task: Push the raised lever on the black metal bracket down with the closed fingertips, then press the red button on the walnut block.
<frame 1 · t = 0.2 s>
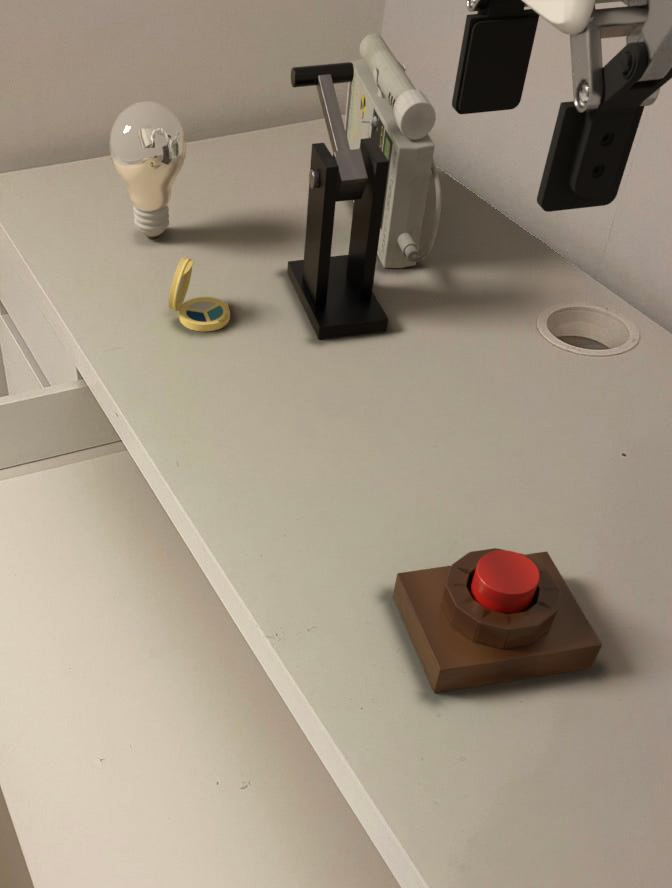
hand: (526, 153, 43), 27 cm above the table, tool pointing down, fingers open, 9 cm apart
eyeshadow: (201, 319, 85), on the table
button block: (488, 631, 61), on the table
button: (504, 581, 58), point 4 cm above the table, slide at 0.1 cm
light bulb: (152, 238, 94), on the table
geiger counter: (386, 230, 94), on the table
lever: (335, 127, 79), point 13 cm above the table, hinge at 25.0°
bracket: (335, 301, 86), on the table
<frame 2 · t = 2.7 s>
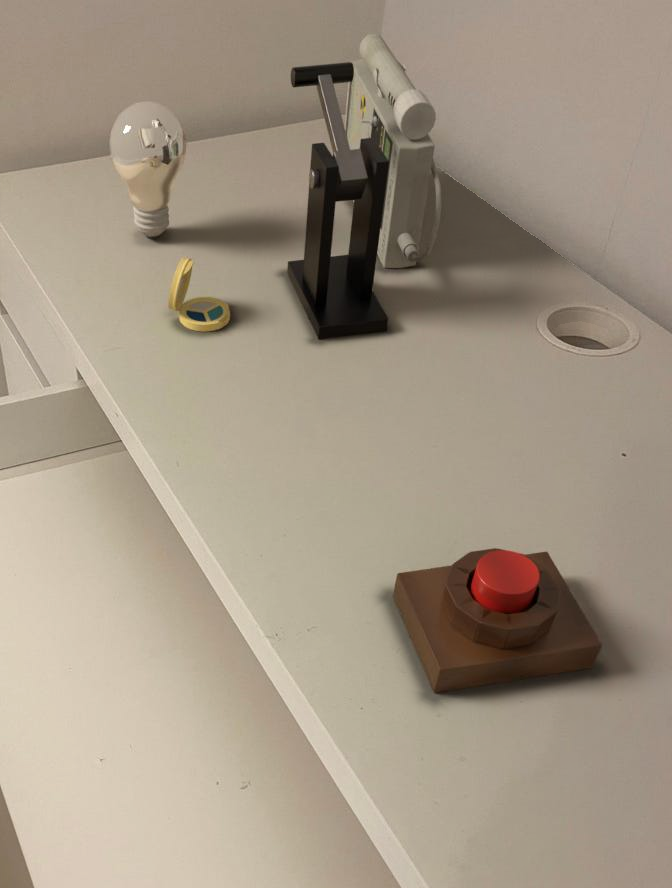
nothing on the table moved.
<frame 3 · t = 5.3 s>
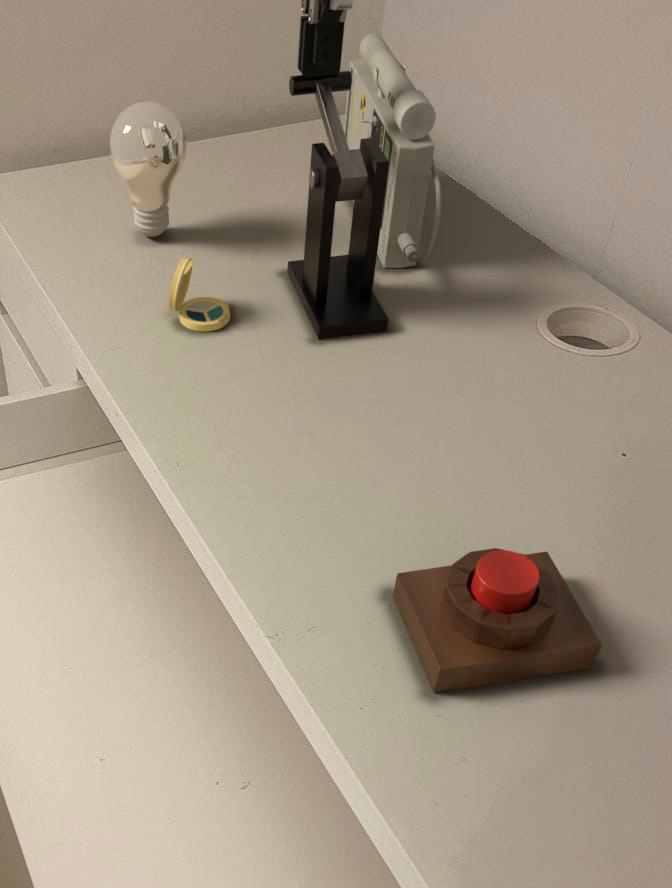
hand: (318, 72, 81), 15 cm above the table, tool pointing down, fingers closed
lever: (334, 131, 79), point 13 cm above the table, hinge at 20.2°, touching gripper
everything else where it was.
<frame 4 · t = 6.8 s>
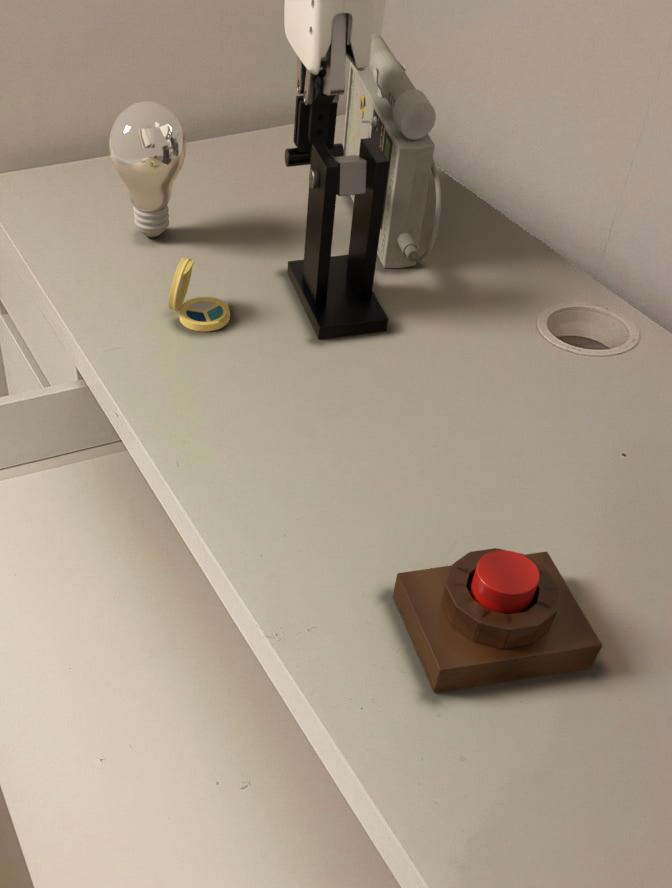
hand: (313, 146, 85), 9 cm above the table, tool pointing down, fingers closed
lever: (331, 165, 81), point 10 cm above the table, hinge at -14.4°, touching gripper
everything else where it was.
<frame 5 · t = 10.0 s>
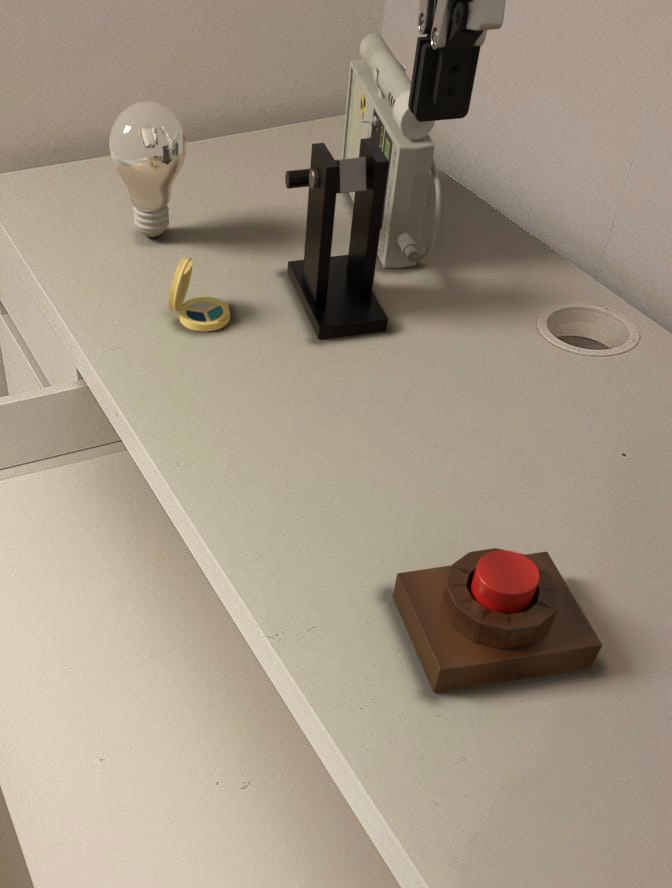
hand: (437, 113, 58), 22 cm above the table, tool pointing down, fingers closed
lever: (331, 176, 82), point 9 cm above the table, hinge at -24.4°
everything else where it was.
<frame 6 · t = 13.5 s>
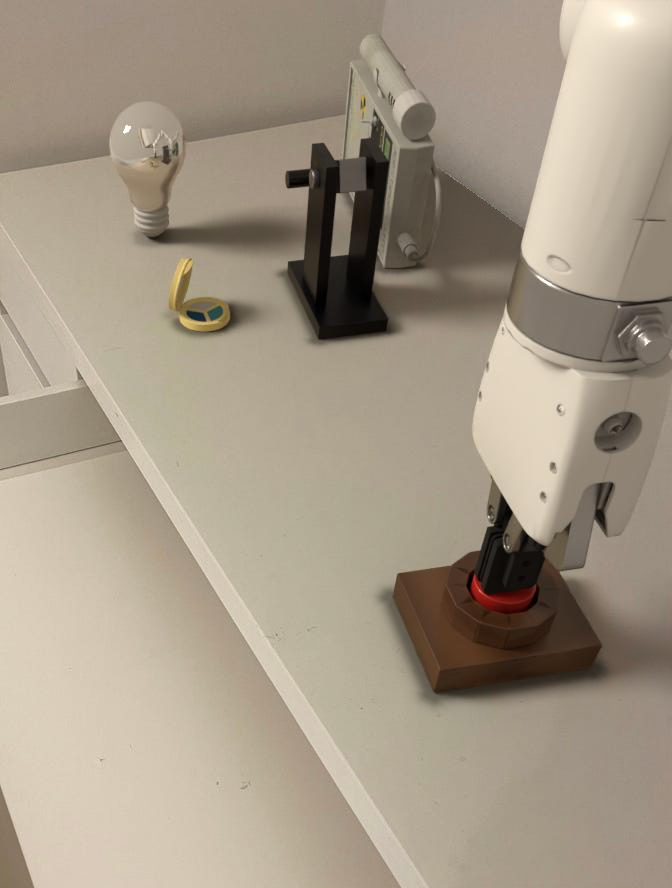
hand: (503, 581, 57), 5 cm above the table, tool pointing down, fingers closed
button: (501, 590, 58), point 4 cm above the table, slide at -0.7 cm, touching gripper
everything else where it was.
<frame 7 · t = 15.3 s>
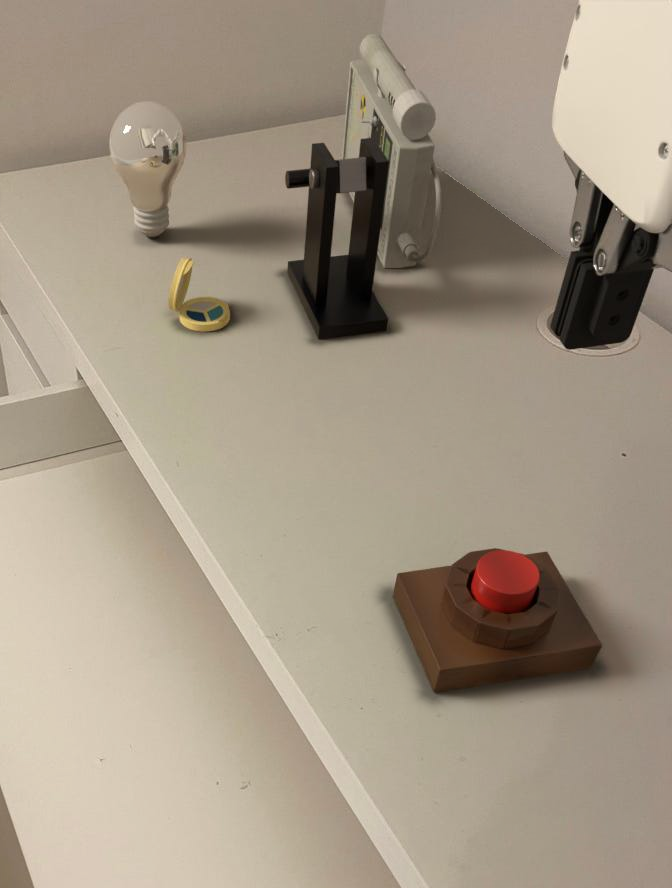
hand: (588, 335, 45), 21 cm above the table, tool pointing down, fingers closed
button: (504, 581, 58), point 4 cm above the table, slide at 0.1 cm
everything else where it was.
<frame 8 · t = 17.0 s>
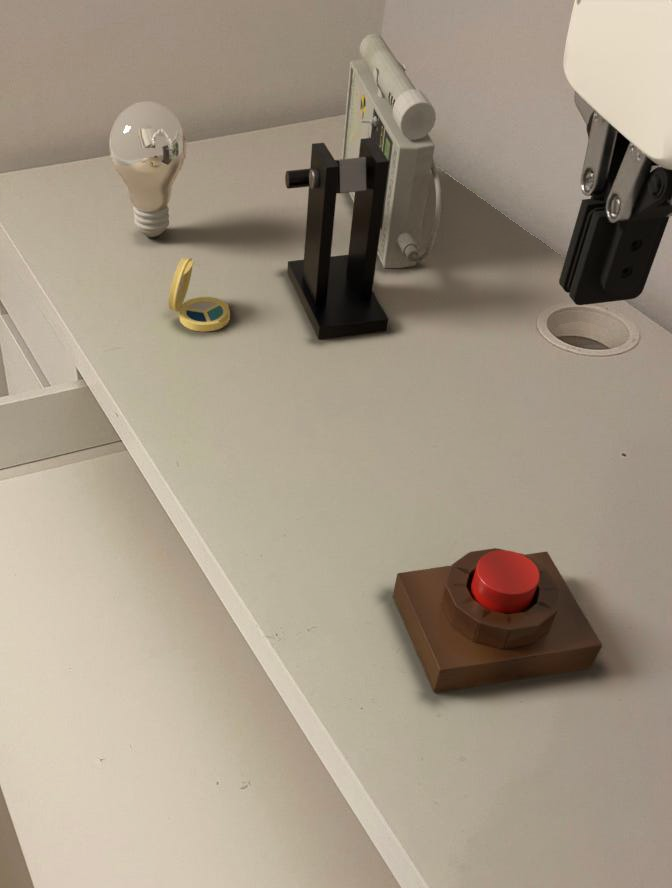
hand: (598, 291, 43), 23 cm above the table, tool pointing down, fingers closed
nothing on the table moved.
at the end: lever at -24° (first picture: +25°); button pushed in 1.1 cm at the most during the clip, back to where it started at the end; button slide at 0.1 cm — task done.
